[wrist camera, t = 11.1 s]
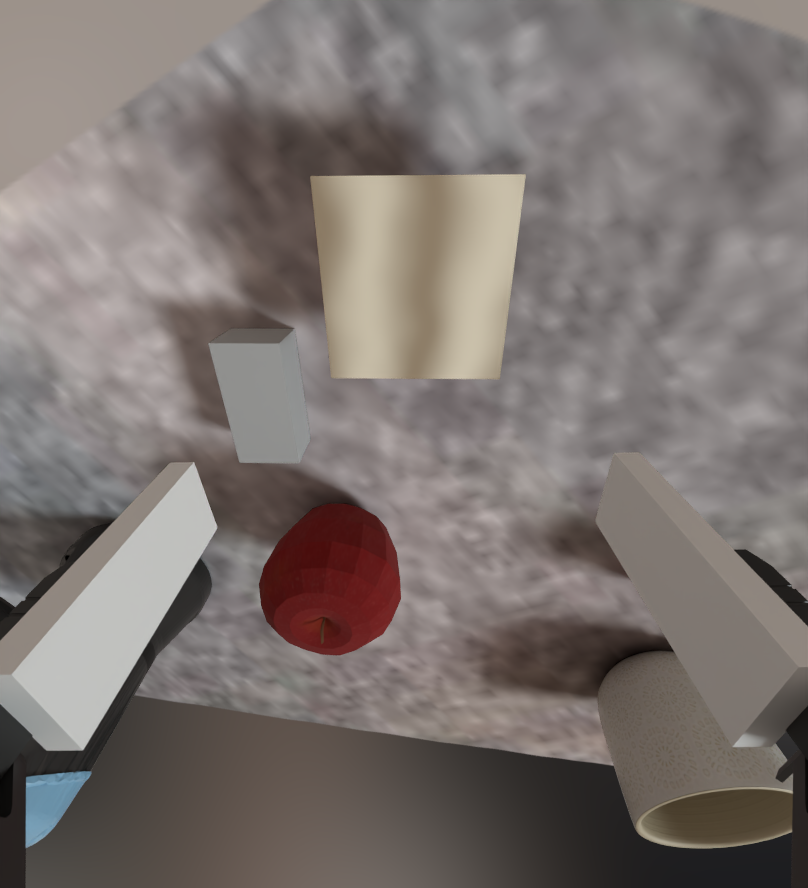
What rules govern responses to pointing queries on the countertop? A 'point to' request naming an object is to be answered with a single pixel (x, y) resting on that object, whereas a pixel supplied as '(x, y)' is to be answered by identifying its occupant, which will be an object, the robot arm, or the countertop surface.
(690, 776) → the planter
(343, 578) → the apple
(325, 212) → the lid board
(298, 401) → the grey rectangular block
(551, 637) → the countertop surface
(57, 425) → the countertop surface
